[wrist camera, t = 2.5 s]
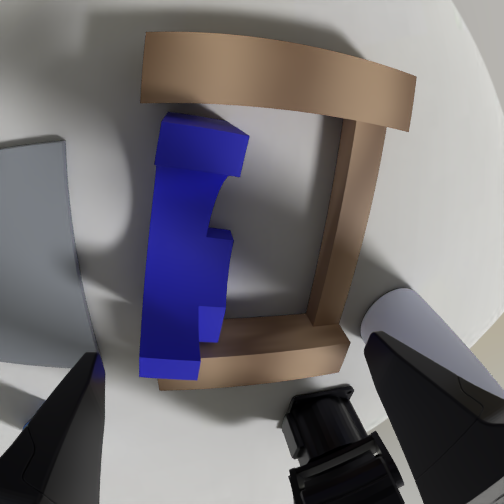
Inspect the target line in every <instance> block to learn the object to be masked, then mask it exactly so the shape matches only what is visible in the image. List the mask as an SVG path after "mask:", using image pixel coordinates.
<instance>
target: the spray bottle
mask: <svg viewBox="0 0 504 504" xmlns="http://www.w3.org/2000/svg"><path fill="white" fill-rule="evenodd" d="M376 331H383V332H385V333H387V334H388V335H390V336H392V337H394V338H395V339H397V340H399V341H400V342H402V343H404V344H405V345H407V346H409V347H411V348H412V349H414V350H416V351H417V352H419V353H421V354H422V355H424V356H426V357H428V358H429V359H431V360H433V361H434V362H436V363H438V364H439V365H441V366H443V367H445V368H446V369H448V370H450V371H451V372H453V373H455V374H456V375H457V376H460V377H462V378H463V379H465V380H467V381H469V382H470V383H472V384H474V385H476V386H478V387H480V388H482V389H484V390H486V391H488V392H490V393H492V394H494V395H496V396H498V397H500V398H503V399H504V390H503V389H502V387H501V386H500V385H499V384H498V382H497V381H496V380H495V379H494V378H493V376H492V375H491V374H490V373H489V371H488V370H487V369H486V368H485V367H484V366H483V364H482V363H481V362H480V361H479V360H478V359H477V358H476V356H475V355H474V354H473V353H472V352H471V350H470V349H469V348H468V347H467V346H466V345H465V344H464V343H463V341H462V340H461V339H460V338H459V337H458V336H457V335H456V334H455V332H454V331H453V330H452V329H451V328H450V327H449V326H448V325H447V324H446V323H445V322H444V321H443V319H442V318H441V317H440V316H439V315H438V314H437V313H436V312H435V311H434V310H433V309H432V308H431V307H430V306H429V305H428V304H427V303H426V301H425V300H424V299H423V298H422V297H421V296H420V295H419V294H418V293H417V292H415V291H414V290H412V289H408V288H400V289H396V290H393V291H390V292H388V293H386V294H385V295H383V296H382V297H380V298H379V299H378V300H377V301H376V302H375V303H374V304H373V305H372V306H371V307H370V308H369V310H368V311H367V313H366V314H365V316H364V318H363V321H362V324H361V337H362V339H363V341H364V342H365V344H366V343H367V341H368V338H369V336H370V334H371V333H372V332H376Z"/></svg>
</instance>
